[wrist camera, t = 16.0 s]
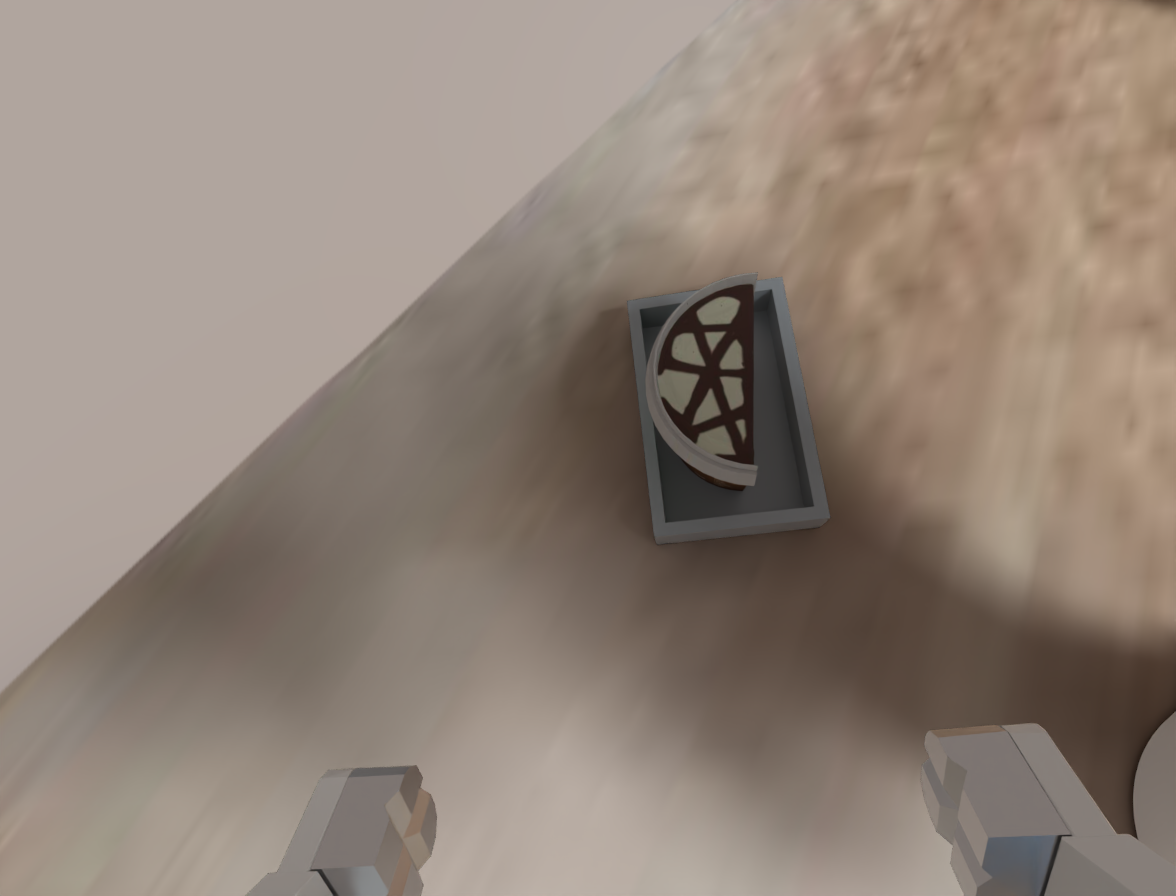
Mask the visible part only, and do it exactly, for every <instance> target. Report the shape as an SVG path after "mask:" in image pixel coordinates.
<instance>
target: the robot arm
mask: <svg viewBox="0 0 1176 896" xmlns="http://www.w3.org/2000/svg"><path fill="white" fill-rule="evenodd" d="M924 747H925V749H926V751H927V753H928V755H929V759H928V760H927V761H926V762H924V763H923V764H922V769H921V784H922V790H923V796H924V800H925V803H926V806H927V809H928V812H929V815H930V818H931V820H932V822H933V825H934V827H935V830H936V832H937V833H939V834H940V835H941V836H942V837H943V838H944V839H946V840H947V841H948V842H949V843H950V844H952V845H953V848H952V854H951V861H950V864H951V867H952V869H953V871H954V873H955V876H956V878H957V880H958V882H959V885H960V887H961V889H962V891H963V894H964V896H1176V711H1175V712H1174V713H1173V714H1172V715H1171V716H1170V717H1169V718H1168V719H1167V720H1166V721H1165V722H1163V724H1162V725H1161V726H1160V727H1159V728H1158V729H1157V730H1156V732H1155V733H1154V734H1153V736H1152V737H1151V739H1150V740H1149V742H1148V744H1147V745H1146V747H1145V749H1144V751H1143V753H1142V756H1141V759H1140V761H1139V764H1138V768H1137V772H1136V776H1135V782H1134V791H1133V810H1134V820H1135V827H1136V832H1137V837H1138V840H1137V839H1136V838H1134V837H1133V836H1131V835H1130V834H1117V833H1116V832H1115V830H1114V829H1113V827H1112V826H1111V824H1110V823H1109V821H1108V820H1107V819H1106V817H1105V816H1104V814H1103V813H1102V811H1101V810H1100V808H1099V807H1098V805H1097V804H1096V803H1095V801H1094V800H1093V798H1092V797H1091V795H1090V794H1089V792H1088V791H1087V790H1086V788H1085V787H1084V785H1083V784H1082V782H1081V781H1080V779H1079V778H1078V776H1077V775H1076V774H1075V772H1074V771H1073V769H1072V768H1071V766H1070V765H1069V763H1068V762H1067V761H1066V759H1065V758H1064V756H1063V755H1062V753H1061V752H1060V750H1059V749H1058V747H1057V746H1056V745H1055V743H1054V742H1053V740H1052V739H1051V737H1050V736H1049V734H1048V733H1047V732H1046V730H1045V729H1044V728H1042V727H1041V726H1040V725H1038V724H1036V723H1025V724H1014V725H1003V726H997V725H986V726H974V727H962V728H950V729H938V730H929V731H928V732H927V734H926V735H925V742H924ZM422 780H423V777H422V775H421V773H420V771H419V769H418V767H417V765H413V766H393V767H373V768H349V769H334V770H328V771H327V772H326V773H325V774H324V775H323V776H322V777H321V779H320V780H319V782H318V784H317V786H316V788H315V790H314V792H313V795H312V797H311V799H310V801H309V803H308V806H307V808H306V810H305V812H304V814H303V816H302V819H301V821H300V823H299V825H298V827H297V830H296V832H295V834H294V836H293V838H292V840H291V843H290V845H289V847H288V849H287V851H286V854H285V856H284V858H283V860H282V862H281V864H280V867H279V869H278V871H277V872H275V873H268V874H267V875H266V876H265V877H264V878H263V879H262V880H261V881H260V882H259V883H258V884H257V885H256V886H255V887H254V888H253V889H252V890H251V891H249V892H248V893H247V894H246V895H245V896H421V893H422V890H423V886H424V885H423V882H422V880H421V877H420V874H419V869H420V868H421V867H422V866H423V865H424V864H425V862H426V861H427V860H428V859H429V858H430V857H431V855H432V850H433V846H434V842H435V838H436V825H437V814H436V808H435V803H434V801H433V798H432V796H431V794H429V793H428V792H426V791H425V790H423V789H421V788H420V786H421V783H422Z"/></svg>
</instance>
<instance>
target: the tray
mask: <svg viewBox="0 0 1176 896" xmlns="http://www.w3.org/2000/svg"><path fill="white" fill-rule="evenodd" d="M697 291H698V290H694V291H688V292H681V293H675V294H668V295H662V296H655V297H649V298H642V299H636V300H630V301H627V306H628V315H629V323H630V332H631V341H632V349H633V358H634V367H635V375H636V384H637V393H638V402H639V410H640V419H641V428H642V436H643V445H644V454H645V462H646V471H647V480H648V488H649V497H650V506H651V514H652V523H653V532H654V538H655V541H656V543H657V545H659V544H668V543H678V542H687V541H697V540H706V539H715V538H725V537H734V536H744V535H753V534H763V533H772V532H781V531H791V530H800V529H810V528H819V527H820V526H822V525H823V524H824V523H825V522H826V521H828V520H829V519H830V513H829V508H828V503H827V498H826V493H825V488H824V483H823V478H822V473H821V468H820V463H819V458H818V453H817V448H816V443H815V438H814V433H813V428H812V423H811V418H810V413H809V408H808V403H807V398H806V393H805V388H804V383H803V378H802V373H801V368H800V363H799V358H798V353H797V348H796V343H795V338H794V333H793V329H792V324H791V319H790V314H789V309H788V304H787V299H786V294H785V289H784V284H783V279H782V277H778V278H771V279H765V280H758V281H756V288H755V294H754V429H753V444H754V465H758V468H757V476H756V480H755V485H754V486H748V485H747V486H746V487H745V489H744V490H743V491H735V490H728V489H724V488H720V487H717V486H715V485H713V484H710V483H708V482H706V481H704V480H703V479H701V478H699V477H698V476H697V475H696V474H694V473H693V472H692V471H691V470H690V469H689V468H688V467H687V466H686V465H685V464H684V463H683V461H682V460H681V458H680V457H679V455H677V454H676V453H675V452H674V451H673V450H672V448H671V447H670V446H669V445H668V444H667V443H666V441H665V440H664V439H663V437H662V436H661V434H660V432H659V431H658V429H657V427H656V426H655V424H654V421H653V418H652V416H651V413H650V411H649V407H648V402H647V397H646V382H645V379H646V371H647V364H648V361H649V357H650V354H651V351H652V348H653V345H654V343H655V340H656V338H657V336H658V334H659V332H660V330H661V328H662V326H663V325H664V323H665V322H666V321H667V319H668V318H669V317H670V315H671V314H672V313H673V312H674V311H675V310H676V309H677V308H678V307H679V306H680V305H681V304H682V303H683V302H684V301H685V300H686V299H688V298H689V297H690V296H692V295H693V294H694V293H696V292H697Z"/></svg>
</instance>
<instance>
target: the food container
mask: <svg viewBox="0 0 1176 896" xmlns="http://www.w3.org/2000/svg"><path fill="white" fill-rule="evenodd" d="M757 275H758V272H757V273H747V274H740V275H735V276H731V277H727V278H724V279H721V280H719V281H716V282H714V283H711V284H709V285H708V286H706V287H704V288H702V289H700V290H698V291H697V292H696V293H694V294H693V295H692V296H690V297H689V298H688V299H686V300H685V301H684V302H683V303H682V304H681V305H680V306H679V307H678V308H677V309H676V310H675V311H674V312H673V313H672V314H671V315H670V317H669V318H668V319H667V321H666V322H665V323H664V325H663V326H662V328H661V330H660V332H659V334H658V336H657V338H656V340H655V343H654V345H653V348H652V351H651V354H650V357H649V361H648V364H647V371H646V379H645V382H646V397H647V402H648V407H649V411H650V413H651V416H652V418H653V421H654V424H655V426H656V427H657V429H658V431H659V432H660V434H661V436H662V437H663V439H664V440H665V441H666V443H667V444H668V445H669V446H670V447H671V448H672V450H673V451H674V452H675V453H676V454H677V455H679V457H680V458H681V460H682V461H683V463H684V464H685V465H686V466H687V467H688V468H689V469H690V470H691V471H692V472H693V473H694V474H696V475H697V476H698V477H699V478H701V479H703V480H704V481H706V482H708V483H710V484H713V485H715V486H717V487H720V488H724V489H728V490H735V491H743V490H744V489H745V487H746V486H747V485H748V486H754V485H755V480H756V476H757V468H758V465H754V444H753V429H754V294H755V288H756V281H757Z"/></svg>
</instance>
